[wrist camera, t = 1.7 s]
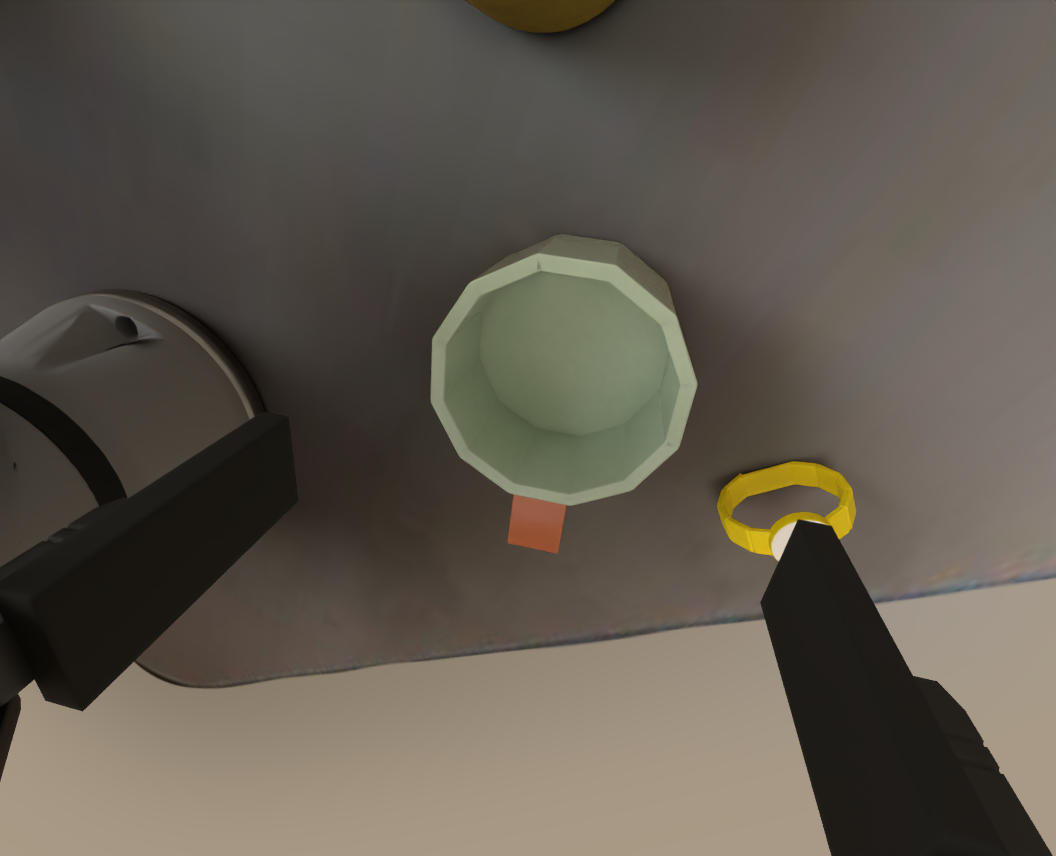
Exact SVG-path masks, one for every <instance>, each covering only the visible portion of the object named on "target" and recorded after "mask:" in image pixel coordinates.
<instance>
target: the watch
mask: <svg viewBox="0 0 1056 856" xmlns="http://www.w3.org/2000/svg"><path fill="white" fill-rule="evenodd" d="M738 475H739V476H738ZM738 475H737V476H736V477H735V478H734V479H733V480H732V481H731V482H729V483H728V484H727V485H726V486H725V487H724V488H723V489H722V490H721V493H720V496H719V499H718V502H717V509H718V512H719V515H720V518H721V522H722V525H723V527H724V529H725V531H726V533H727V535H728V536H729V538H730V540H732V542H734V543H736V544H738V545H740V546H742V547H743V548H745V549H747V550H749V551H751V552H755V553H758V554H766V555H773V556H774V558H775V559H776V560H777V561H778V562H779V560H780V558H781V556H782V554H783V551H784V549H785V547H786V545H787V542H788V540H789V538H790V536H791V534H792V531H793V529H794V527H795V525H796V522H797V520H798V519H800V520H805V521H810V522H815V523H820V524H825V525H830V526H832V527H833V529H834V531H835V533H836V535H837V536H838V538H839V539H841V538H842V537H843V536H845V535H846V534H847V533H848V532H850V531H849V530H851V529H852V526H853V522H854V519H855V515H856V508H855V503H854V497H853V492H852V488H851V487H850V485H849V484H848V482H847V481H846V479H845V478H844V476H843V475H841V474H840V473H839V472H836V471H834V470H832V469H829V468H827V467H825V466H823V465H820V464H816V463H808V462H797V461H791V462H788V463H784V464H780V465H777V466H773V467H769V468H765V469H762V470H758V471H754V472H751V473H747V474H743V475H742V473H741V474H738ZM794 484H796V485H804V486H812V487H819V488H821V489H823V490H825V491H828V492H830V493H832V494H834V495H836V496H838V497H839V499H840V503H839V506H838V508H836V509H835V510H834V511H832V512H831V513H830V514H828V515H827V516H826V517H822V516H820V515H818V514H816V513H810V512H796V513H792V514H789V515H786V516H784V517H782V518H781V519H779V520H778V521H776V522H775V524H774V525H773V526H772V527H771V529H760V528H751V527H749V526H747V525H745V524H743V523H741V522H739V521H737V520H734V519H732V517H731V516H732V512H733V508H735V507H736V506H737V505H738V504H739V503H740V502H741V501H742V500H743V499H744V498H746V497H748V496H752V495H756V494H759V493H763V492H767V491H771V490H775V489H779V488H783V487H787V486H790V485H794Z"/></svg>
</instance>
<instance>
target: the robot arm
mask: <svg viewBox="0 0 1056 856" xmlns="http://www.w3.org/2000/svg"><path fill="white" fill-rule="evenodd" d="M297 502H298V495H297V486H296V478H295V469H294V461H293V452H292V444H291V436H290V427H289V419H288V417H286V416H281V415H276V414H271V413H266V412H264V409H263V406H262V403H261V401H260V398H259V396H258V393H257V391H256V390H255V388H254V386H253V384H252V382H251V380H250V378H249V377H248V375H247V374H246V372H245V370H244V369H243V368H242V366H241V365H240V363H239V362H238V361H237V359H236V358H235V357H234V356H233V354H232V353H231V352H230V351H229V350H228V349H227V347H226V346H225V345H224V344H223V343H222V342H221V341H220V340H219V339H218V338H217V337H216V336H215V335H214V334H213V333H211V332H210V331H209V330H208V329H207V328H206V327H204V326H203V325H202V324H201V323H199V322H198V321H197V320H195V319H194V318H192V317H191V316H190V315H188V314H187V313H185V312H183V311H182V310H180V309H178V308H176V307H175V306H173V305H171V304H169V303H167V302H165V301H162V300H160V299H157V298H155V297H152V296H149V295H146V294H142V293H138V292H133V291H128V290H103V291H97V292H92V293H88V294H84V295H79V296H75V297H72V298H69V299H66V300H64V301H62V302H59V303H57V304H55V305H52V306H50V307H48V308H46V309H44V310H43V311H41V312H40V313H39V314H37V315H36V316H34V317H33V318H31V319H30V320H28V321H27V322H26V323H24V324H23V325H21V326H20V327H18V328H17V329H15V330H14V331H12V332H11V333H10V334H8V335H7V336H5V337H4V338H2V339H1V340H0V780H1V777H2V773H3V769H4V766H5V763H6V759H7V756H8V752H9V749H10V745H11V741H12V738H13V734H14V731H15V728H16V724H17V721H18V717H19V714H20V710H21V699H20V697H19V695H18V693H19V692H20V691H21V690H22V689H23V688H25V687H26V686H27V685H28V684H29V683H31V682H32V681H33V680H34V679H35V681H36V683H37V685H38V687H39V689H40V691H41V693H42V694H43V697H44V699H45V700H46V701H49V702H52V703H56V704H59V705H63V706H66V707H69V708H73V709H77V710H80V711H83V710H84V709H86V708H87V707H88V706H89V705H90V704H91V703H92V702H93V701H94V700H95V699H96V698H97V697H98V696H99V695H100V694H101V693H102V692H103V691H104V690H105V689H106V688H107V687H108V686H109V685H110V684H111V683H112V682H113V681H114V680H115V679H116V678H117V677H118V676H119V675H120V674H121V673H122V672H123V671H125V670H126V669H127V668H128V666H130V665H131V664H132V663H133V662H134V661H135V660H136V659H137V658H138V657H139V656H140V655H141V654H142V653H143V652H144V651H145V650H146V649H147V648H148V647H149V646H150V645H151V644H152V643H153V642H154V641H155V640H156V639H157V638H158V637H159V636H160V635H161V634H162V633H163V632H164V631H165V630H166V629H168V628H169V627H170V626H171V625H172V624H173V623H174V622H175V621H176V620H177V619H178V618H179V617H180V616H181V615H182V614H183V613H184V612H185V611H186V610H187V609H188V608H189V607H190V606H191V605H192V604H193V603H194V602H195V601H196V600H197V599H198V598H199V597H200V596H201V595H202V594H203V593H204V592H205V591H206V590H207V589H208V588H210V587H211V586H212V585H213V584H214V583H215V582H216V581H217V580H218V579H219V578H220V577H221V576H222V575H223V574H224V573H225V572H226V571H227V570H228V569H229V568H230V567H231V566H232V565H233V564H234V563H235V562H236V561H237V560H238V559H239V558H240V557H241V556H242V555H243V554H244V553H245V552H246V551H247V550H248V549H249V548H250V547H251V546H253V545H254V544H255V543H256V542H257V541H258V540H259V539H260V538H261V537H262V536H263V535H264V534H265V533H266V532H267V531H268V530H269V529H270V528H271V527H272V526H273V525H274V524H275V523H276V522H277V521H278V520H279V519H280V518H281V517H282V516H283V515H284V514H285V513H286V512H287V511H288V510H289V509H290V508H291V507H292V506H293V505H294V504H296V503H297ZM760 603H761V606H762V610H763V613H764V617H765V621H766V624H767V628H768V631H769V635H770V638H771V642H772V646H773V649H774V652H775V656H776V660H777V663H778V667H779V670H780V674H781V677H782V681H783V685H784V688H785V692H786V695H787V699H788V703H789V706H790V710H791V713H792V717H793V720H794V724H795V727H796V731H797V735H798V738H799V741H800V745H801V749H802V752H803V756H804V760H805V763H806V767H807V770H808V774H809V777H810V781H811V785H812V788H813V792H814V795H815V799H816V802H817V806H818V810H819V813H820V817H821V820H822V824H823V827H824V831H825V834H826V838H827V842H828V845H829V849H830V852H831V855H832V856H1052V854H1051V852H1050V851H1049V849H1048V847H1047V846H1046V844H1045V842H1044V841H1043V839H1042V838H1041V836H1040V834H1039V832H1038V831H1037V829H1036V827H1035V826H1034V824H1033V822H1032V821H1031V819H1030V817H1029V816H1028V814H1027V813H1026V811H1025V809H1024V807H1023V806H1022V804H1021V802H1020V801H1019V799H1018V798H1017V796H1016V794H1015V793H1014V791H1013V789H1012V787H1011V786H1010V784H1009V782H1008V781H1007V779H1006V778H1005V776H1004V774H1000V772H999V766H998V764H997V763H996V761H995V759H994V758H993V756H992V754H991V753H990V751H989V750H988V748H987V747H984V745H983V742H984V741H983V740H982V738H981V736H980V734H979V733H978V731H977V729H976V728H975V726H974V725H973V723H972V721H971V719H970V718H969V716H968V715H967V713H966V711H965V710H964V709H963V708H962V707H961V706H960V705H959V704H958V703H957V702H956V701H955V699H954V698H953V697H952V696H951V695H950V694H949V693H948V692H947V691H946V690H945V689H944V688H943V687H942V686H941V685H940V684H939V683H938V682H937V681H933V680H929V679H924V678H920V677H915V676H913V675H912V674H911V672H910V670H909V668H908V666H907V664H906V662H905V661H904V659H903V657H902V655H901V653H900V651H899V649H898V648H897V646H896V644H895V642H894V640H893V638H892V636H891V635H890V633H889V631H888V629H887V627H886V625H885V623H884V622H883V620H882V618H881V616H880V614H879V612H878V611H877V609H876V607H875V605H874V603H873V601H872V599H871V598H870V596H869V594H868V592H867V590H866V588H865V586H864V585H863V583H862V581H861V579H860V577H859V575H858V573H857V572H856V570H855V568H854V566H853V564H852V562H851V561H850V559H849V557H848V555H847V553H846V551H845V549H844V548H843V546H842V544H841V542H840V540H839V538H838V536H837V535H836V533H835V531H834V529H833V527H832V526H830V525H825V524H820V523H815V522H810V521H805V520H800V519H798V520H797V522H796V525H795V527H794V529H793V531H792V534H791V536H790V538H789V540H788V542H787V545H786V547H785V549H784V551H783V554H782V556H781V558H780V560H779V562H778V565H777V567H776V569H775V571H774V574H773V576H772V578H771V580H770V582H769V585H768V587H767V589H766V591H765V593H764V596H763V598H762V600H761V602H760Z"/></svg>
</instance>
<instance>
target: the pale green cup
mask: <svg viewBox="0 0 1056 856" xmlns="http://www.w3.org/2000/svg"><path fill="white" fill-rule="evenodd" d="M697 384H698V383H697V379H696V376H695V372H694V369H693V365H692V362H691V359H690V355H689V352H688V348H687V345H686V341H685V338H684V335H683V331H682V328H681V325H680V322H679V319H678V315H677V312H676V309H675V306H674V302H673V299H672V296H671V293H670V290H669V286H668V283H667V282H666V281H665V280H664V279H663V278H662V277H661V276H659V275H658V274H657V273H656V272H655V271H654V270H652V269H651V268H650V267H649V266H648V265H646V264H645V263H644V262H643V261H642V260H641V259H639V258H638V257H637V256H636V255H635V254H633V253H632V252H631V251H630V250H629V249H628V248H626V247H625V246H624V245H623V244H622V243H620V242H614V241H607V240H600V239H593V238H586V237H579V236H572V235H565V234H558V235H555V236H553V237H551V238H549V239H546V240H544V241H542V242H539V243H537V244H535V245H532V246H530V247H528V248H526V249H523V250H521V251H519V252H516V253H514V254H512V255H510V256H507V257H505V258H504V259H503V260H501V261H500V262H498V263H497V264H495V265H494V266H493V267H491V268H490V269H488V270H487V271H485V272H484V273H483V274H481V275H480V276H478V277H477V278H475V279H474V280H472V281H471V282H470V283H469V284H468V285H467V287H466V288H465V290H464V291H463V293H462V294H461V296H460V297H459V299H458V300H457V302H456V303H455V305H454V306H453V308H452V309H451V311H450V312H449V314H448V315H447V317H446V318H445V320H444V321H443V323H442V324H441V326H440V327H439V329H438V330H437V332H436V333H435V335H434V336H433V339H432V360H431V397H430V401H431V404H432V406H433V408H434V410H435V412H436V414H437V415H438V417H439V419H440V421H441V423H442V425H443V427H444V429H445V431H446V433H447V434H448V436H449V438H450V440H451V442H452V444H453V446H454V448H455V450H456V452H457V453H458V455H459V457H460V458H461V459H463V460H464V461H465V462H467V463H468V464H469V465H471V466H472V467H474V468H475V469H476V470H478V471H479V472H480V473H482V474H483V475H485V476H486V477H487V478H489V479H490V480H491V481H493V482H494V483H495V484H497V485H498V486H500V487H501V488H502V489H504V490H505V491H506V492H508V493H510V494H513V501H512V509H511V517H510V525H509V534H508V543H510V544H515V545H519V546H524V547H529V548H533V549H538V550H543V551H547V552H552V553H556V554H557V553H558V551H559V546H560V541H561V536H562V530H563V525H564V519H565V514H566V509H567V505H568V506H573V505H577V504H581V503H585V502H589V501H593V500H597V499H601V498H605V497H609V496H613V495H617V494H622V493H626V492H630V491H632V490H633V489H634V488H635V487H637V486H638V485H639V484H640V483H641V482H642V481H643V480H644V479H646V478H647V477H648V476H649V475H650V474H651V473H652V472H653V471H654V470H656V469H657V468H658V467H659V466H660V465H661V464H662V463H663V462H664V461H666V460H667V459H668V458H669V457H670V456H671V455H672V454H673V453H674V452H676V451H677V450H678V448H679V447H680V444H681V441H682V437H683V434H684V430H685V427H686V423H687V420H688V417H689V413H690V410H691V406H692V403H693V399H694V396H695V393H696V389H697V386H698V385H697Z"/></svg>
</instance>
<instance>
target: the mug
mask: <svg viewBox="0 0 1056 856" xmlns="http://www.w3.org/2000/svg"><path fill="white" fill-rule="evenodd" d="M466 1H467V2H468V3H470V4H471V5H473V6H474V7H476V8H477V9H479V10H480V11H482V12H483V13H485V14H486V15H488V16H489V17H491V18H492V19H494V20H495V21H497V22H499V23H502V24H504V25H506V26H509V27H511V28H515V29H519V30H523V31H527V32H535V33H550V32H559V31H565V30H568V29H570V28H573V27H575V26H578V25H580V24H583V23H585V22H587V21H588V20H590V19H592V18H593V17H595V16H597V15H598V14H600V13H601V12H603V11H604V10H605V9H606V8H607V7H608V6H609V5H611V4H612V3H613V2H614V1H615V0H466Z"/></svg>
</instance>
